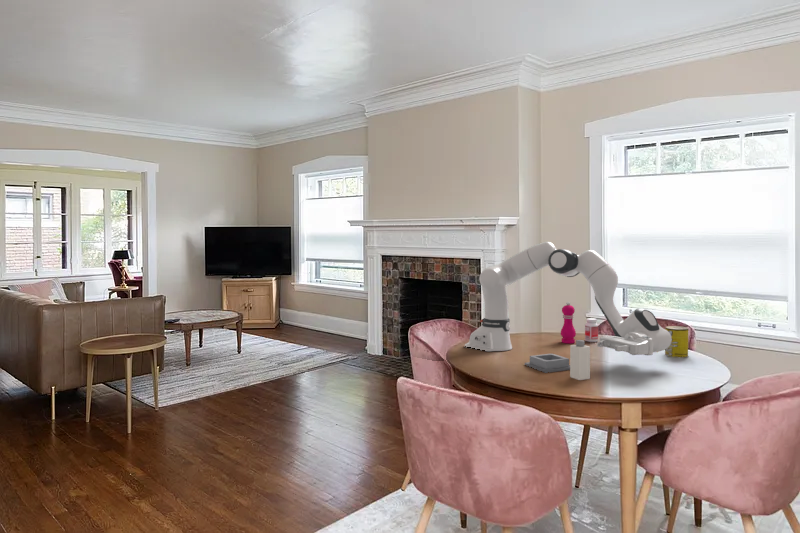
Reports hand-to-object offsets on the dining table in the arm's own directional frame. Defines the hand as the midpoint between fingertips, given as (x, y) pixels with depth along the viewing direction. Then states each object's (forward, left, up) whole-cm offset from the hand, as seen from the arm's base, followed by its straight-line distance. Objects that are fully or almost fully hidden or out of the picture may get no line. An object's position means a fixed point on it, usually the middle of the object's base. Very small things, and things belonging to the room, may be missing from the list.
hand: (607, 346), depth 212 cm
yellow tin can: (+14, +50, -11) cm, 53 cm away
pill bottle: (-27, +61, -11) cm, 68 cm away
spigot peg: (-6, -11, -11) cm, 16 cm away
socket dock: (-22, -2, -11) cm, 25 cm away
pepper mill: (-35, +51, -11) cm, 63 cm away
